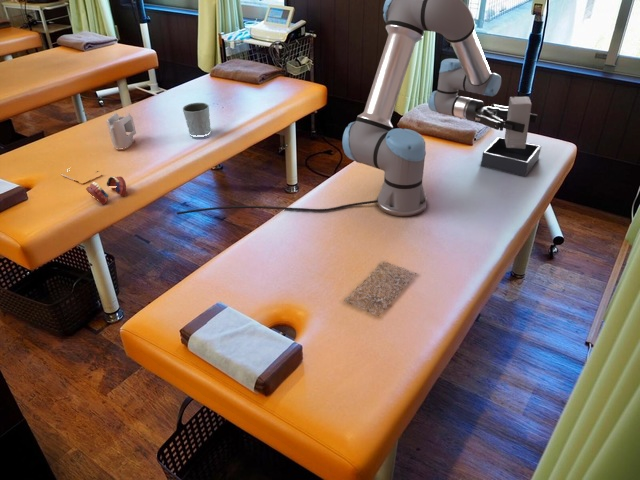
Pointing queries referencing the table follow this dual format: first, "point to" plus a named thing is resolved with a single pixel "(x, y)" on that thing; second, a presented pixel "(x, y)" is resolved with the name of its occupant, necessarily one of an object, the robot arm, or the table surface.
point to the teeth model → (113, 181)
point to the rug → (381, 288)
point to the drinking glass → (197, 119)
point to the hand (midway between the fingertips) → (530, 123)
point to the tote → (510, 157)
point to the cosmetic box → (518, 121)
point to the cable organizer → (121, 130)
